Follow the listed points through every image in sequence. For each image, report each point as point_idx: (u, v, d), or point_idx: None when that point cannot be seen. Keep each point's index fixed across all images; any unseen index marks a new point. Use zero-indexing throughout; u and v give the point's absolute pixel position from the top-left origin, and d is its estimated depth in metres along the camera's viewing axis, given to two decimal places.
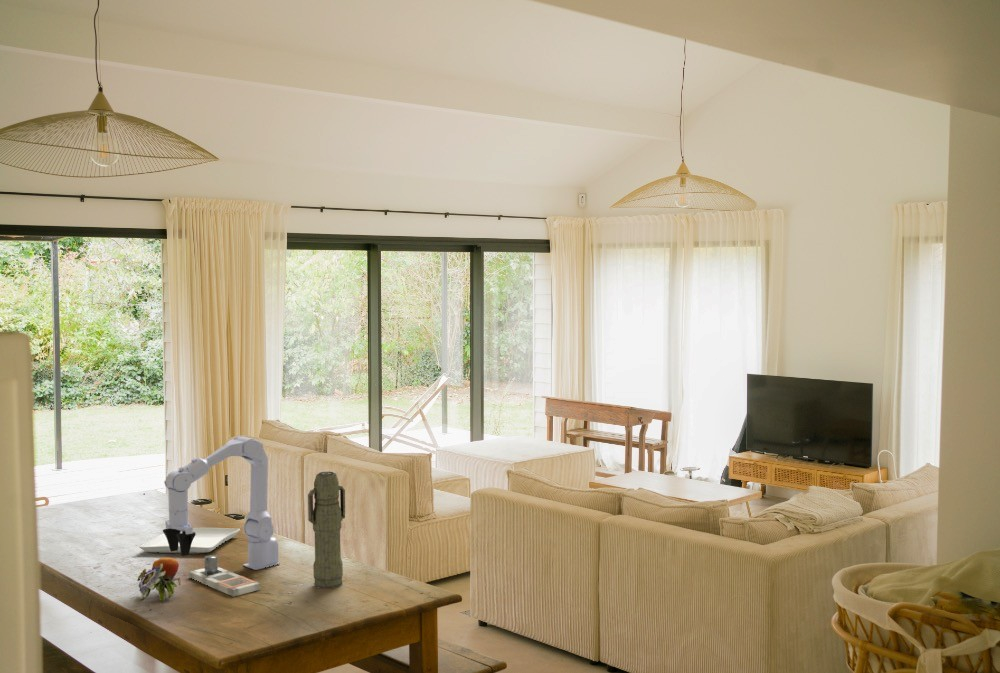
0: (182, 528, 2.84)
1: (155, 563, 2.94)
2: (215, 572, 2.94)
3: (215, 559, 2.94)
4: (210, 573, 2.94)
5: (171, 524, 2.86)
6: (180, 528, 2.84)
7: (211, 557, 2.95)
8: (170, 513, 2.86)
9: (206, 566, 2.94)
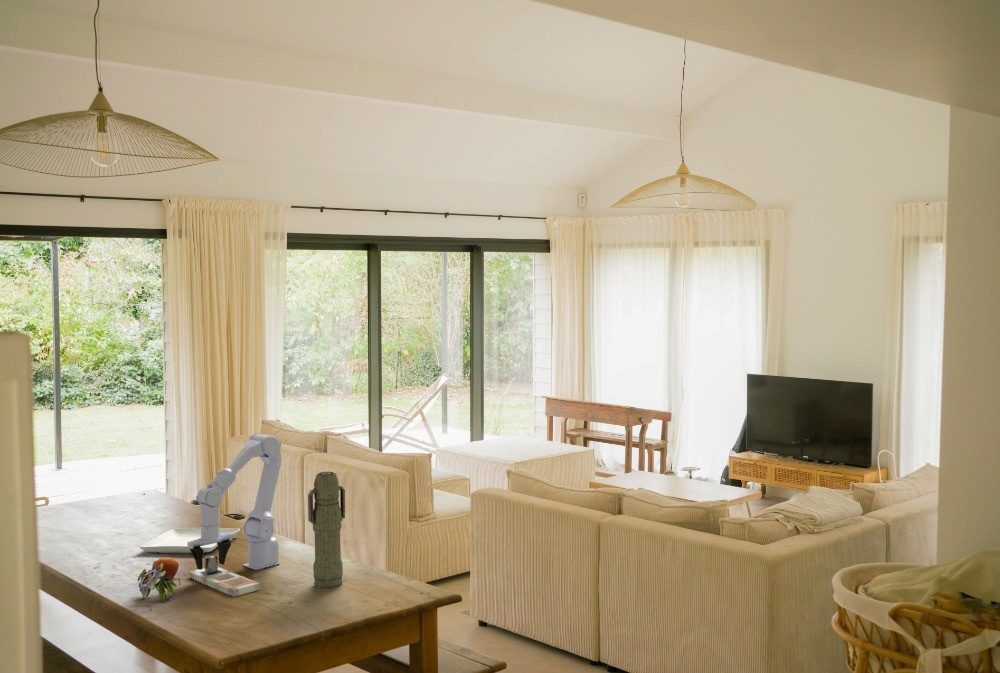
0: None
1: (155, 563, 2.94)
2: (215, 572, 2.94)
3: (215, 559, 2.94)
4: (210, 573, 2.94)
5: None
6: None
7: (211, 557, 2.95)
8: None
9: (206, 566, 2.94)
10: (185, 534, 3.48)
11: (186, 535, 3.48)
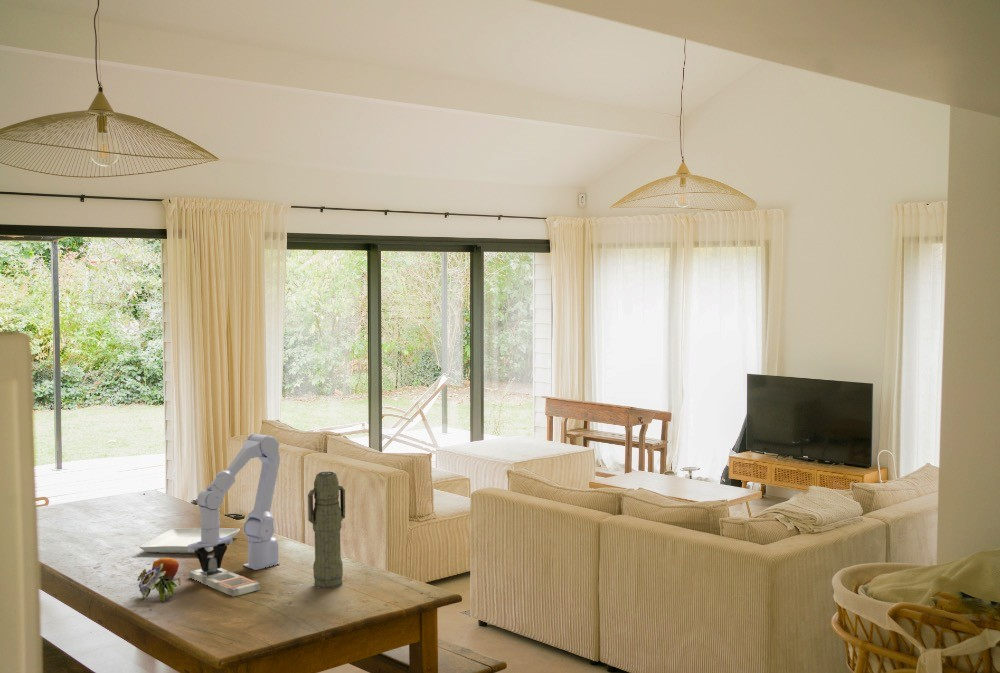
0: None
1: (155, 563, 2.94)
2: (215, 572, 2.94)
3: (215, 559, 2.94)
4: (210, 573, 2.94)
5: None
6: None
7: (211, 557, 2.95)
8: None
9: None
10: (185, 534, 3.48)
11: (186, 535, 3.48)
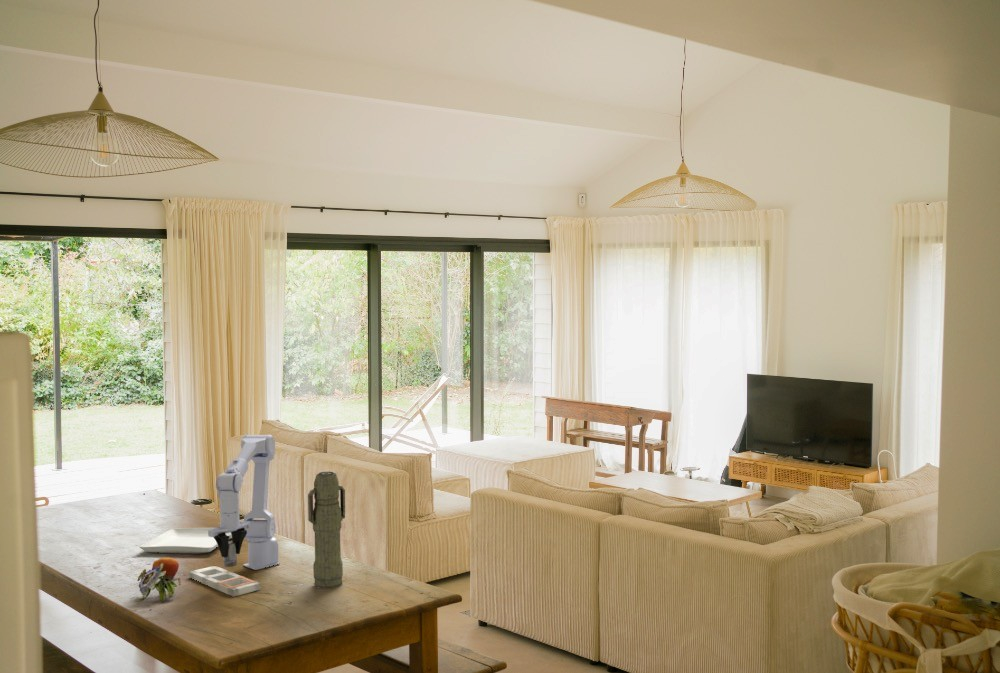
0: None
1: (155, 563, 2.94)
2: (234, 558, 2.85)
3: (234, 545, 2.86)
4: (229, 559, 2.84)
5: None
6: None
7: (230, 543, 2.86)
8: None
9: None
10: (185, 534, 3.48)
11: (186, 535, 3.48)
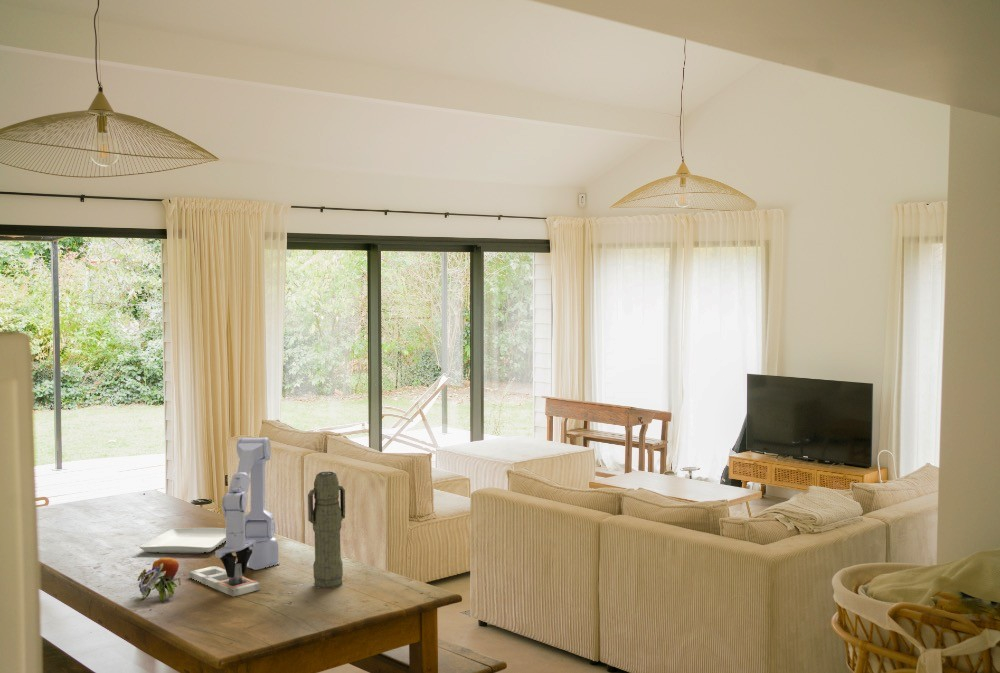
0: None
1: (155, 563, 2.94)
2: (240, 578, 2.84)
3: (240, 565, 2.84)
4: (236, 579, 2.83)
5: None
6: None
7: (236, 563, 2.84)
8: None
9: None
10: (185, 534, 3.48)
11: (186, 535, 3.48)
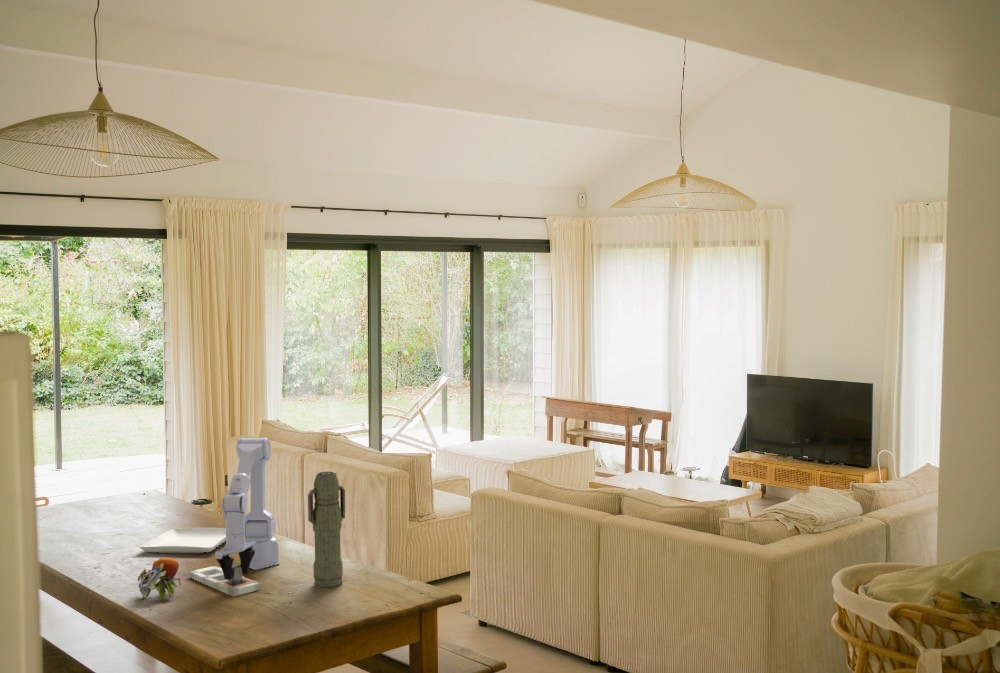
0: None
1: (155, 563, 2.94)
2: (240, 582, 2.84)
3: (241, 568, 2.84)
4: (236, 583, 2.83)
5: None
6: None
7: (236, 566, 2.84)
8: None
9: (232, 576, 2.83)
10: (185, 534, 3.48)
11: (186, 535, 3.48)
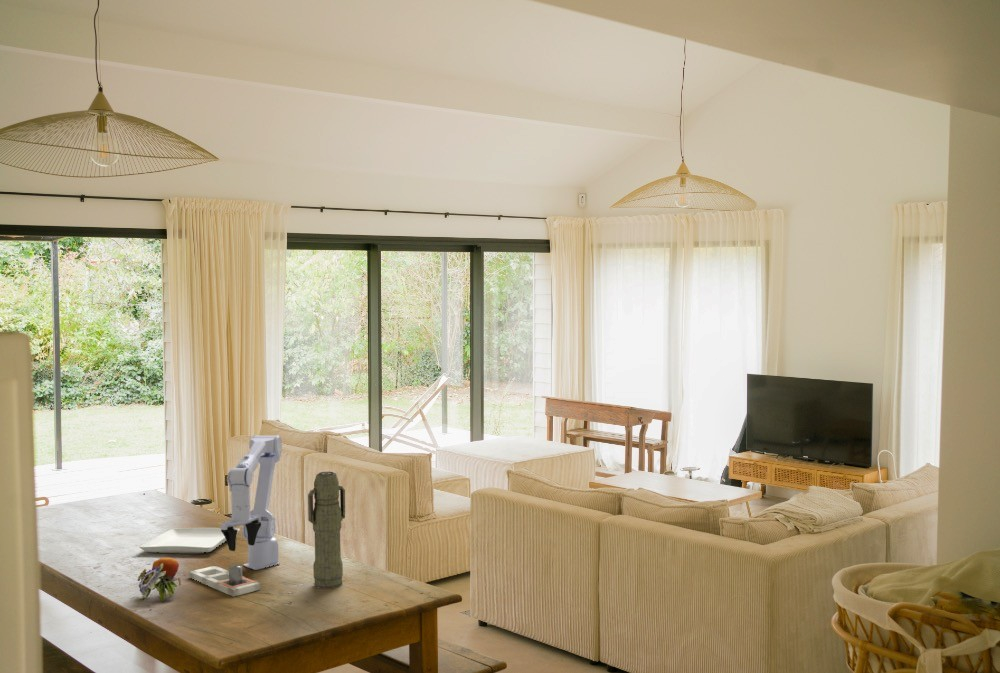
0: None
1: (155, 563, 2.94)
2: (241, 582, 2.84)
3: (241, 568, 2.84)
4: (236, 583, 2.83)
5: None
6: None
7: (236, 566, 2.84)
8: None
9: (232, 576, 2.83)
10: (185, 534, 3.48)
11: (186, 535, 3.48)
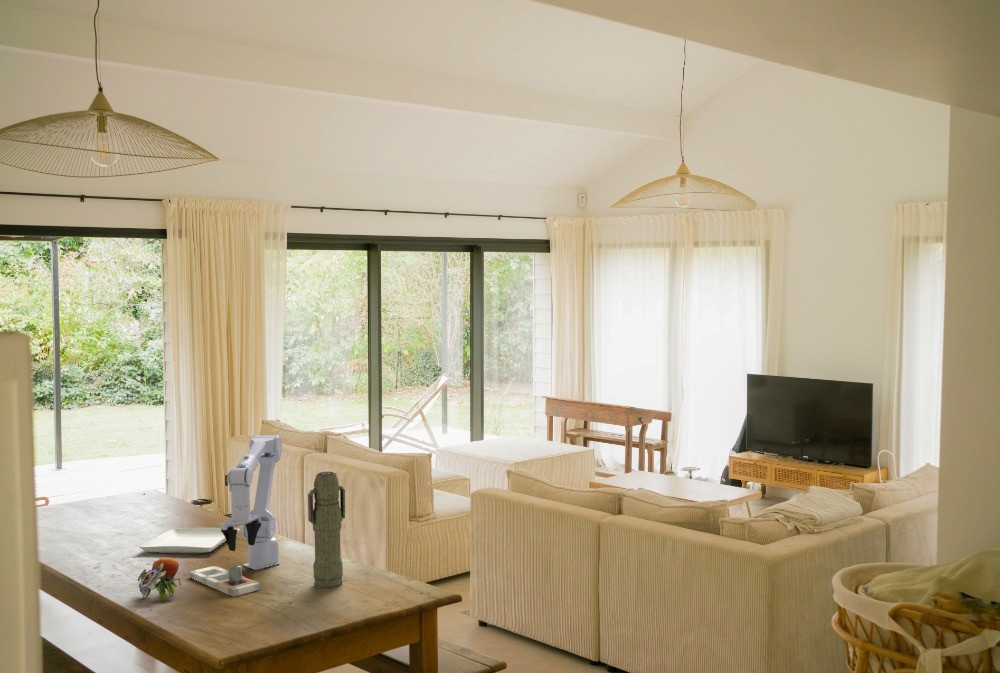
0: None
1: (155, 563, 2.94)
2: (240, 581, 2.84)
3: (240, 568, 2.84)
4: (236, 583, 2.83)
5: None
6: None
7: (236, 566, 2.84)
8: None
9: (231, 576, 2.83)
10: (185, 534, 3.48)
11: (186, 535, 3.48)
